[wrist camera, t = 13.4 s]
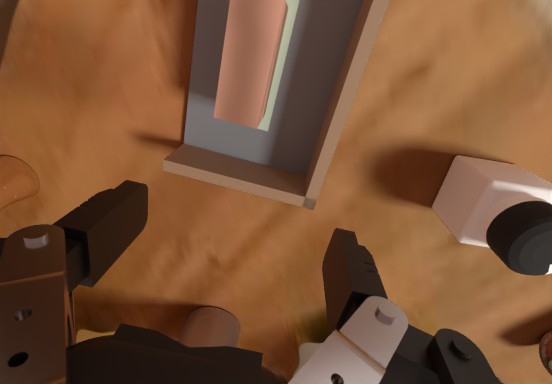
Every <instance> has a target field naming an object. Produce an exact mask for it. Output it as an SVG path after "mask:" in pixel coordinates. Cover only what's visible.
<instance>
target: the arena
mask: <svg viewBox="0 0 552 384" xmlns="http://www.w3.org/2000/svg"><path fill="white" fill-rule="evenodd" d="M389 2H390V0H286V3H287V5H288V8H289V10H288V14H287V19H286V23H285V28H284V32H283V37H282V41H281V45H280V50H279V54H278V59H277V63H276V68H275V72H274V77H273V81H272V86H271V90H270V94H269V99H268V103H267V108H266V112H265V115H264V117H263V119H262V121H261V123H260V124H259V126H258V128H257V129H255V128H251V127H248V126H244V125H240V124H236V123H233V122H229V121H225V120H221V119H218V118H214V110H215V103H216V96H217V89H218V82H219V75H220V68H221V61H222V53H223V46H224V39H225V32H226V25H227V18H228V11H229V3H230V0H198V4H197V14H196V24H195V34H194V44H193V54H192V64H191V74H190V84H189V94H188V104H187V114H186V124H185V134H184V143H183V144H182V145H181V146H180V147H178V148H177V149H176V150H175V151H174V152H172V153H171V154H170V155H169V156H167V157H166V158H165V159H164V160H163V171H167V172H171V173H175V174H179V175H182V176H186V177H190V178H194V179H198V180H202V181H205V182H209V183H213V184H217V185H221V186H224V187H228V188H232V189H236V190H240V191H243V192H247V193H251V194H255V195H259V196H262V197H266V198H270V199H274V200H278V201H282V202H285V203H289V204H293V205H297V206H301V207H304V208H308V209H312V210H313V209H314V206H315V204H316V201H317V198H318V195H319V193H320V190H321V187H322V185H323V182H324V179H325V176H326V174H327V171H328V168H329V166H330V163H331V160H332V157H333V155H334V152H335V149H336V147H337V144H338V141H339V138H340V136H341V133H342V130H343V127H344V125H345V122H346V119H347V117H348V114H349V111H350V108H351V106H352V103H353V100H354V98H355V95H356V92H357V89H358V87H359V84H360V81H361V79H362V76H363V73H364V70H365V68H366V65H367V62H368V60H369V57H370V54H371V51H372V49H373V46H374V43H375V40H376V38H377V35H378V32H379V30H380V27H381V24H382V21H383V19H384V16H385V13H386V11H387V8H388V5H389Z"/></svg>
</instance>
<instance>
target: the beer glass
mask: <svg viewBox="0 0 552 384" xmlns="http://www.w3.org/2000/svg"><path fill="white" fill-rule="evenodd" d="M38 190H39V180H38V178H37V175H36V174H35V172H34V171H33V170H32V168H31V167H30V166H28V165H27V164H26V163H25V162H23V161H22V160H20V159H17V158H15V157H11V156H1V157H0V211H1V210H3V209H4V208H6V207H7V206H9V205H11V204H13V203H16V202H18V201H21V200H24V199H27V198H30V197H32V196H34V195H35V194H36V193H37V192H38Z"/></svg>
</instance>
